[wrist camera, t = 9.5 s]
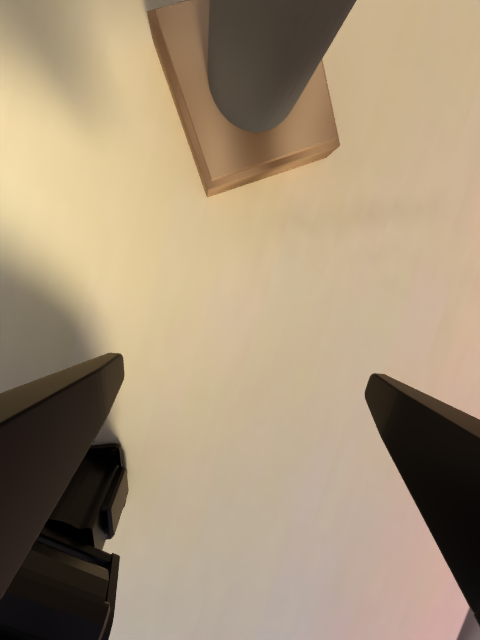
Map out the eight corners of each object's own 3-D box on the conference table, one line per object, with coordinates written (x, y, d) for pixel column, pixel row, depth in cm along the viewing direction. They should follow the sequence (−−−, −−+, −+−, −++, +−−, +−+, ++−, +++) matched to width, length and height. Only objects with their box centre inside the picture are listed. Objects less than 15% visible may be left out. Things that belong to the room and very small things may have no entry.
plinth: (207, 197, 19) (208, 187, 17) (153, 41, 17) (145, 2, 14) (326, 157, 20) (344, 142, 17) (291, 2, 17) (306, -41, 15)
